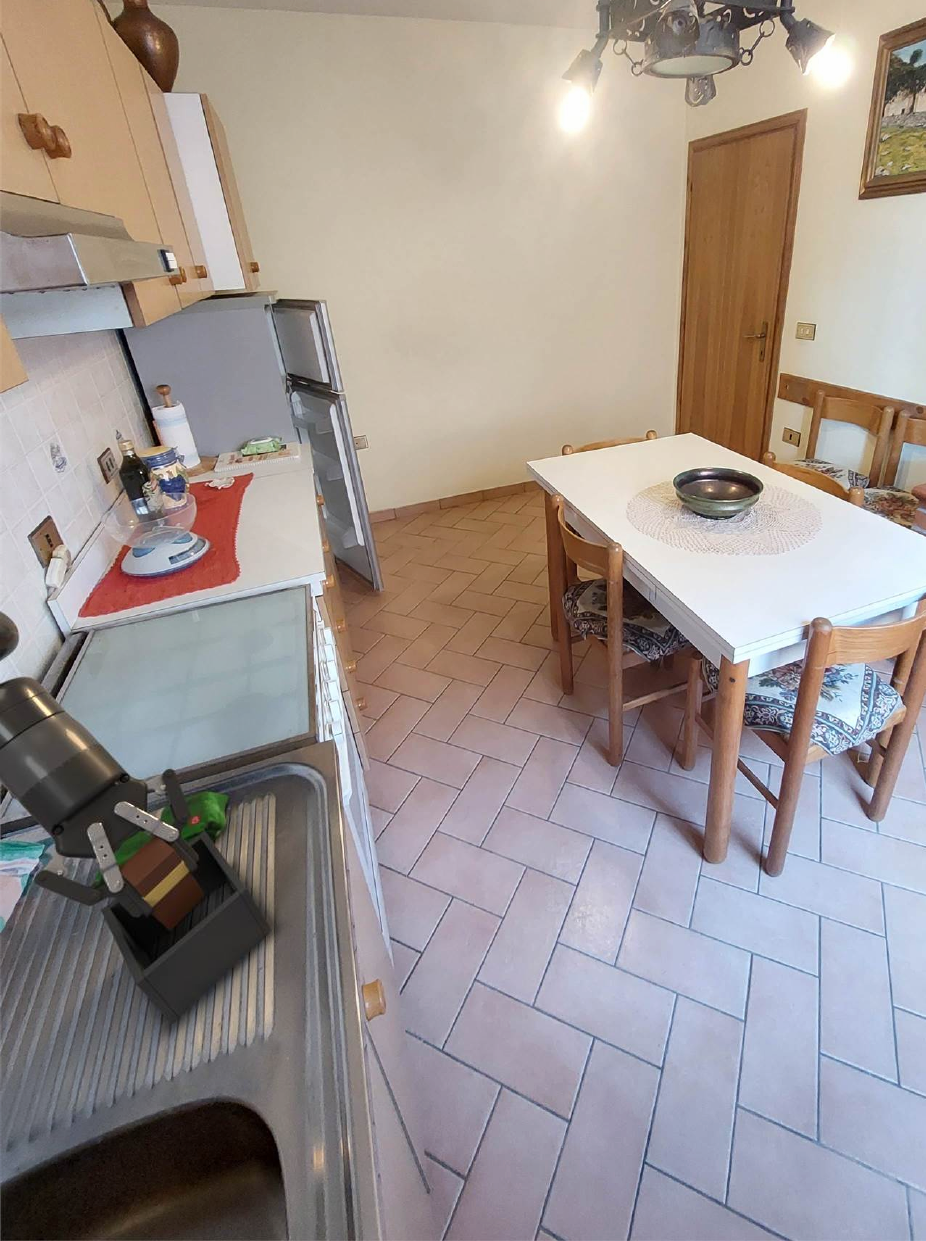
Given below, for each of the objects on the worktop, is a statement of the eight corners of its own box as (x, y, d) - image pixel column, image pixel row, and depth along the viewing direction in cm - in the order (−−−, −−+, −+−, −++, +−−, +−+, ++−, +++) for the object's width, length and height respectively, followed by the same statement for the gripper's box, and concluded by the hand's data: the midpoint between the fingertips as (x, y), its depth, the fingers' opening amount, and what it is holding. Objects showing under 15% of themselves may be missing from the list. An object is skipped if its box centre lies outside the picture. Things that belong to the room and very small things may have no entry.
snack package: (106, 857, 77) (87, 834, 75) (232, 799, 83) (219, 776, 81) (99, 906, 72) (79, 883, 69) (235, 841, 78) (221, 817, 75)
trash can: (176, 1029, 60) (136, 984, 55) (139, 956, 66) (100, 909, 61) (275, 936, 67) (246, 888, 62) (233, 877, 73) (204, 830, 69)
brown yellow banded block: (170, 932, 60) (134, 887, 56) (151, 915, 62) (115, 870, 58) (206, 895, 63) (175, 849, 59) (187, 879, 65) (155, 834, 61)
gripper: (-31, 824, 51) (101, 964, 52) (132, 710, 62) (241, 827, 62) (-21, 834, 57) (99, 962, 57) (128, 727, 67) (229, 835, 67)
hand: (173, 891), depth 59 cm, fingers closed on brown yellow banded block, 4 cm apart
